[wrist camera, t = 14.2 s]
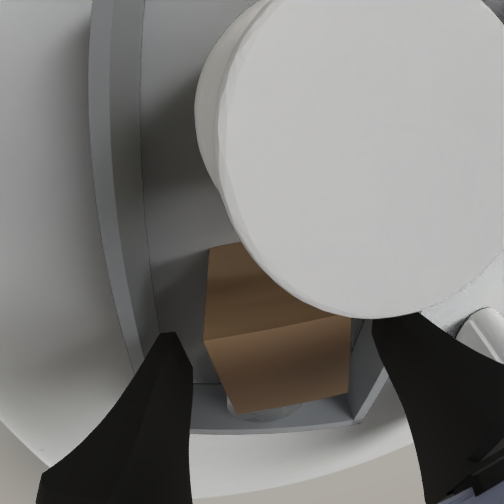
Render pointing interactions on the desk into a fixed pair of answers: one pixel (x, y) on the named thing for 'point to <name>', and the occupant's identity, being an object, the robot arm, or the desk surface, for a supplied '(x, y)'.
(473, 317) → the photo printer
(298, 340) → the walnut block
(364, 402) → the bay
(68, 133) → the desk surface
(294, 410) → the metal cylinder
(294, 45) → the supplement bottle
